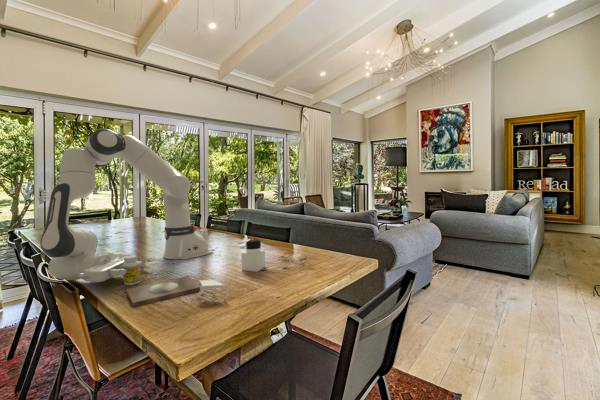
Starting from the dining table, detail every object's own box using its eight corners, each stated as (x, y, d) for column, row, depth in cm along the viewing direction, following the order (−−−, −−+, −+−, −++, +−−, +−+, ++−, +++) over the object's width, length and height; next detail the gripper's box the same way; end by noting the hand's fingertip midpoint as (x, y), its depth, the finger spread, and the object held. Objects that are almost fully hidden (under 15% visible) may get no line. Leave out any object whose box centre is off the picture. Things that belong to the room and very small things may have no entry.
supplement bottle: (142, 279, 113) (141, 254, 112) (138, 284, 108) (136, 258, 107) (126, 281, 112) (124, 255, 111) (121, 286, 107) (119, 259, 106)
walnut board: (188, 279, 113) (188, 275, 113) (201, 290, 101) (200, 286, 101) (126, 292, 101) (126, 288, 101) (133, 306, 90) (133, 302, 89)
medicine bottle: (265, 266, 127) (264, 238, 126) (257, 272, 120) (256, 242, 119) (250, 265, 129) (249, 237, 128) (241, 270, 122) (240, 240, 121)
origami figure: (187, 303, 92) (186, 287, 91) (201, 292, 100) (200, 278, 99) (224, 306, 89) (224, 290, 89) (236, 295, 97) (235, 280, 97)
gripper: (73, 267, 100) (113, 268, 99) (115, 251, 120) (149, 251, 119) (74, 286, 100) (115, 287, 99) (116, 267, 120) (149, 267, 119)
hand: (133, 267), depth 109 cm, fingers open, 8 cm apart
